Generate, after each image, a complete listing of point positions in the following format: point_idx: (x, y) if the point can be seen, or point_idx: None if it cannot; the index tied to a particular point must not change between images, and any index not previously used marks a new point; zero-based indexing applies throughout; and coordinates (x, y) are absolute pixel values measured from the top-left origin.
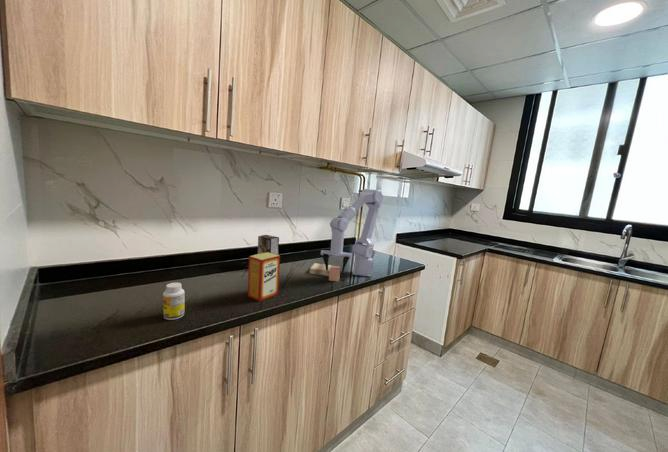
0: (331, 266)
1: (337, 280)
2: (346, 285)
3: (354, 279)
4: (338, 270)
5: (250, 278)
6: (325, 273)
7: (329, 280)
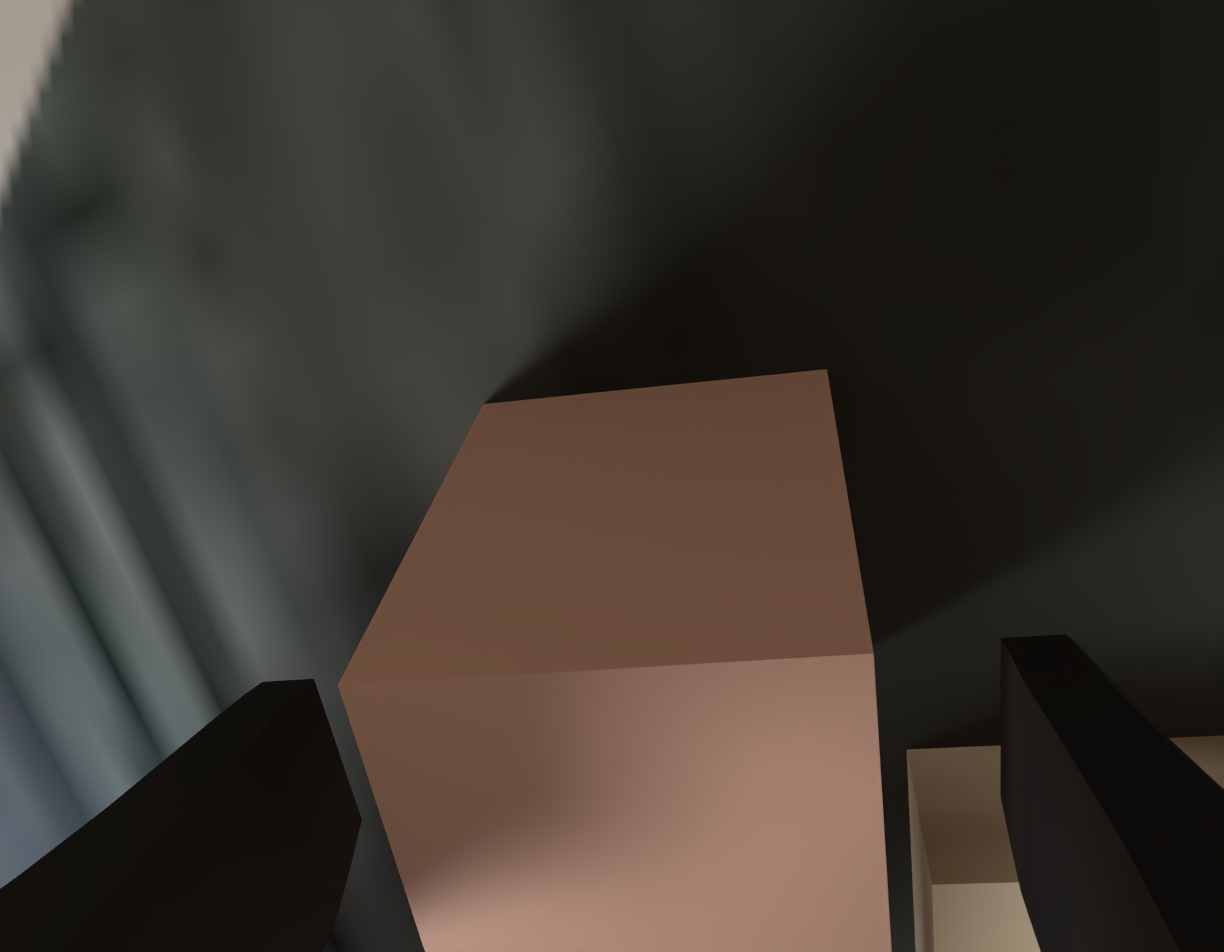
0: (853, 919)
1: (507, 417)
2: (103, 181)
3: (133, 760)
4: (397, 644)
5: None
6: None
7: (803, 374)
